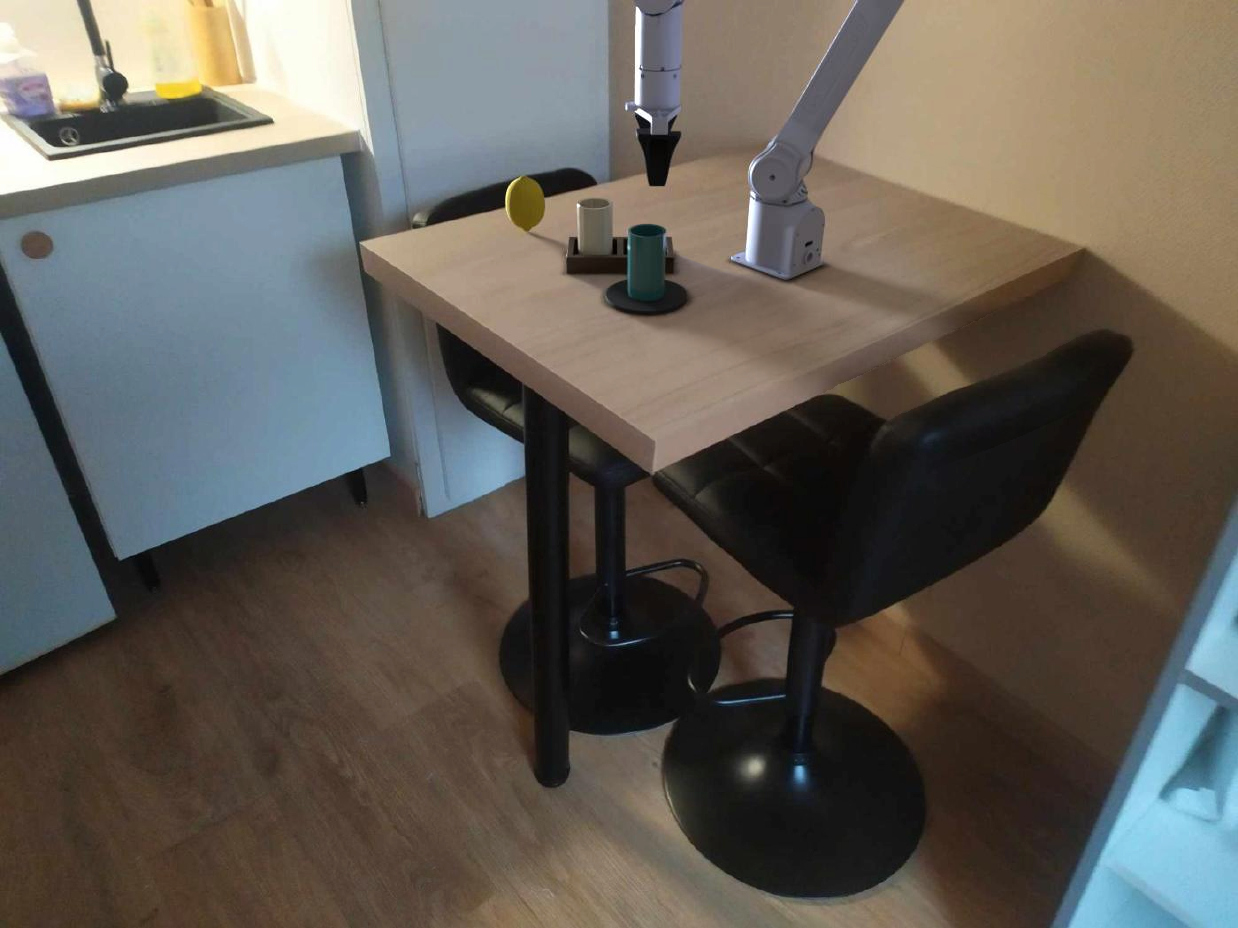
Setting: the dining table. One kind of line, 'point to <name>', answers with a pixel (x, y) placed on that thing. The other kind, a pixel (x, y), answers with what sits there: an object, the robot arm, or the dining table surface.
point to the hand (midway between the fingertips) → (655, 176)
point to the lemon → (525, 203)
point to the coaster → (669, 302)
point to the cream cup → (595, 226)
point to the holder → (609, 258)
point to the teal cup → (646, 262)
